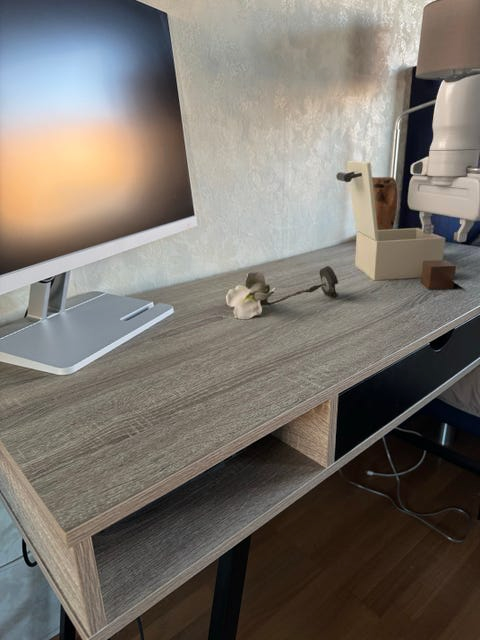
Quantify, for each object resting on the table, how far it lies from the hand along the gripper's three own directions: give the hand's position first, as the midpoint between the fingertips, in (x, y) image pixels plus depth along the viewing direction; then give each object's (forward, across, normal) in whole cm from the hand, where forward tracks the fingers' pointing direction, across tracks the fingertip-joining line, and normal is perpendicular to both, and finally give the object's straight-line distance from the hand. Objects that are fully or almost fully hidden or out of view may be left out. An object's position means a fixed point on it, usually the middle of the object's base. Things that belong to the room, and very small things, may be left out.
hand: (442, 237), depth 91 cm
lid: (-7, +16, +9) cm, 20 cm away
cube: (+10, 0, 0) cm, 11 cm away
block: (+11, +39, -11) cm, 42 cm away
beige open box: (+11, +14, 0) cm, 18 cm away
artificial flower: (+11, +1, +34) cm, 36 cm away
